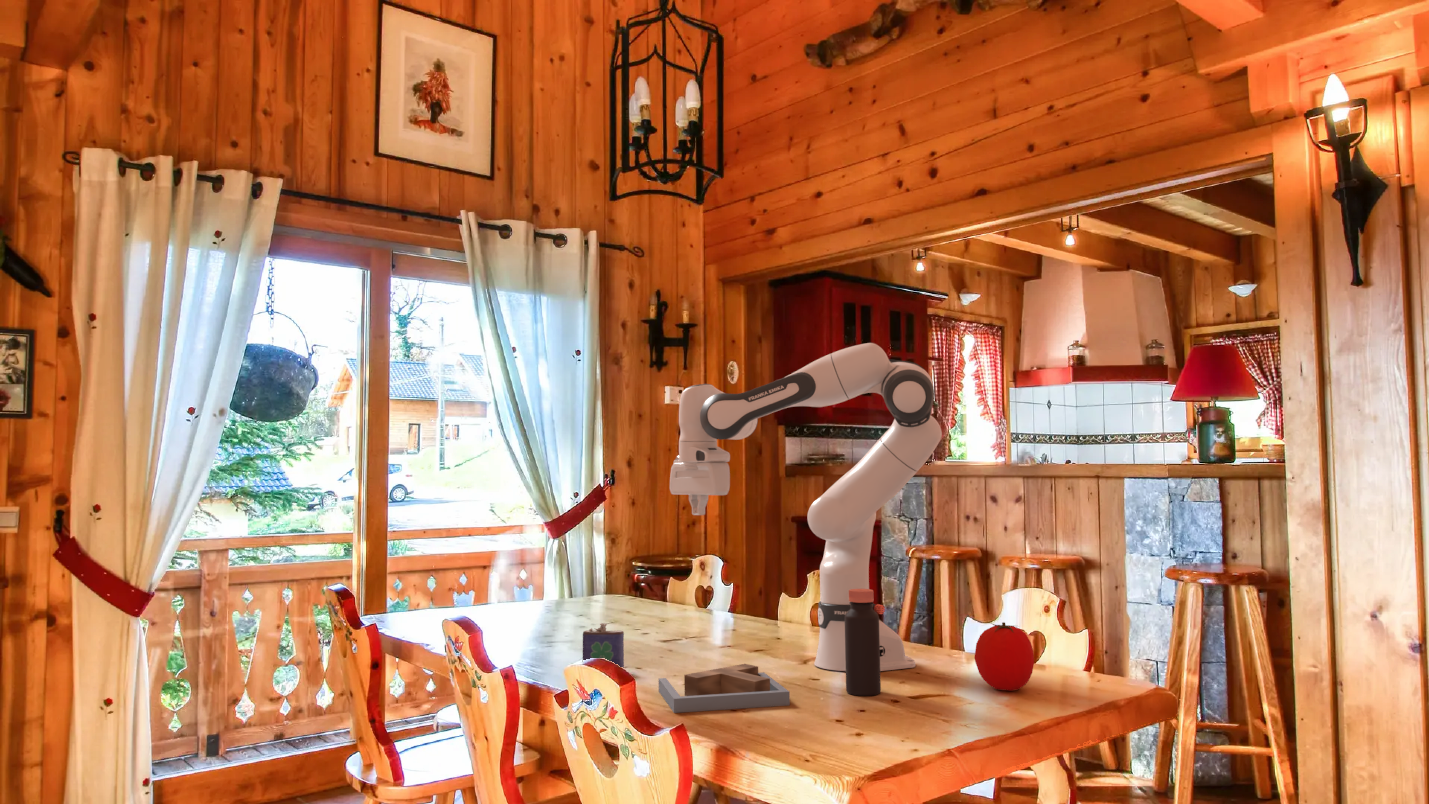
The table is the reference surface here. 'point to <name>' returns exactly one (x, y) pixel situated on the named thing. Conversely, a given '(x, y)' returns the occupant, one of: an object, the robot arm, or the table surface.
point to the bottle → (862, 645)
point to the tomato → (1004, 657)
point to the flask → (604, 644)
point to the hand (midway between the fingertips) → (698, 515)
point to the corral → (724, 698)
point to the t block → (726, 681)
